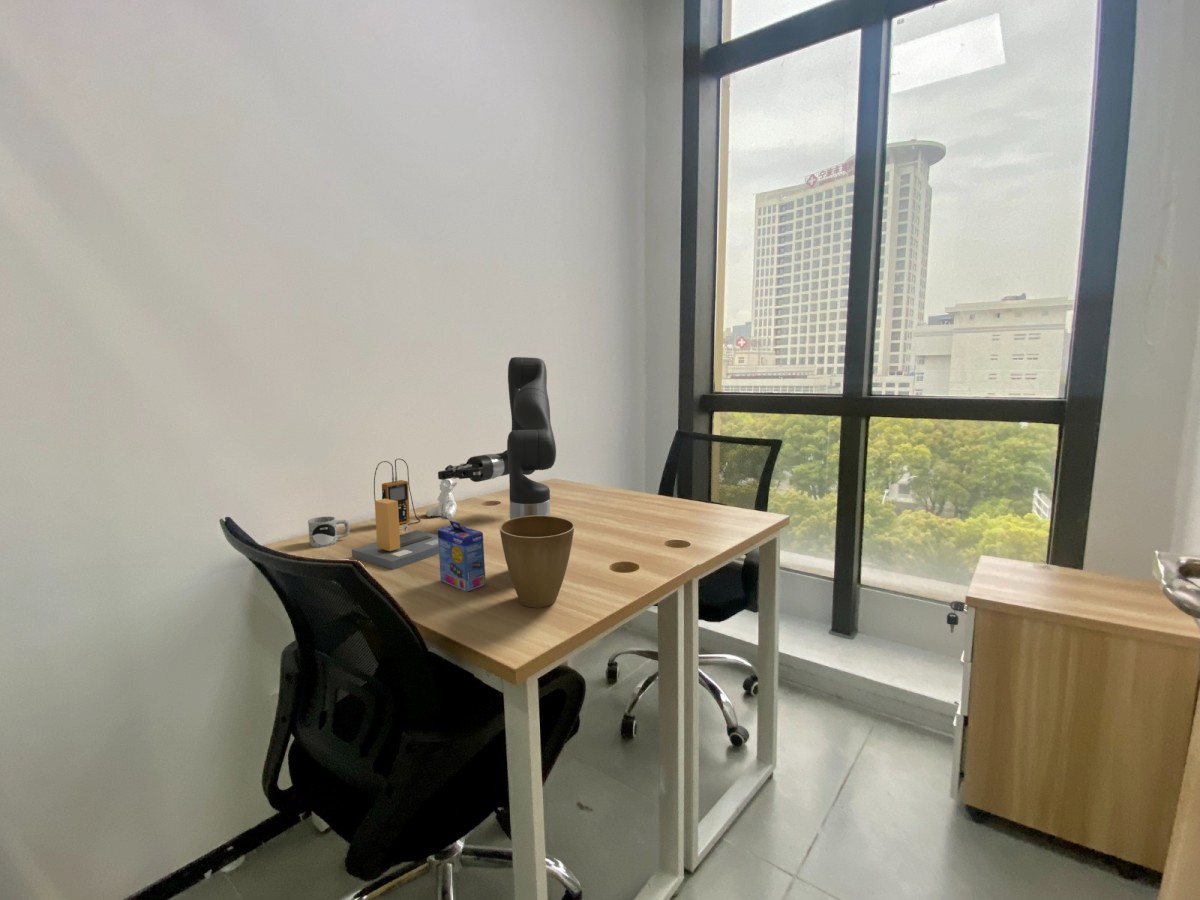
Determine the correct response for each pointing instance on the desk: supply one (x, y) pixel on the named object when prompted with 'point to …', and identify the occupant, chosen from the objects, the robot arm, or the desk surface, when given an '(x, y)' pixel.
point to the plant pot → (537, 556)
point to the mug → (325, 531)
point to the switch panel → (400, 550)
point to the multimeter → (398, 495)
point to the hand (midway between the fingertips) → (439, 475)
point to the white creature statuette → (445, 501)
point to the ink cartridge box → (461, 557)
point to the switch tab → (387, 524)
